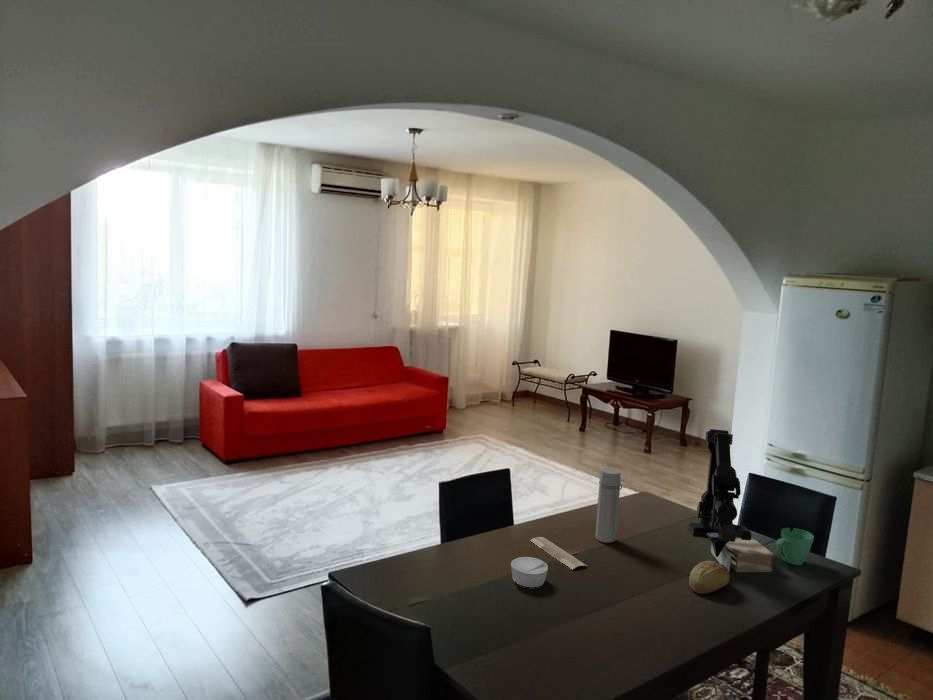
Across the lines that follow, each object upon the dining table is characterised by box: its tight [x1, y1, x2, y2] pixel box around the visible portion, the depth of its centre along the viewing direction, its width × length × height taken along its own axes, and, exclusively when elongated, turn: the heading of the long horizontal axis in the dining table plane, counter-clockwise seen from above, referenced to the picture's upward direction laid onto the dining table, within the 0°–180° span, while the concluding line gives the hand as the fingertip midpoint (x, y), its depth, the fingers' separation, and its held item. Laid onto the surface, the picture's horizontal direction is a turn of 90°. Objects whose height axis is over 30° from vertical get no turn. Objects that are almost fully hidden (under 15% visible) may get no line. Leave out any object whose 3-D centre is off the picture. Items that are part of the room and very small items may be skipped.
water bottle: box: [595, 467, 623, 544], centre depth 230 cm, size 9×8×25 cm
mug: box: [775, 527, 815, 566], centre depth 220 cm, size 15×10×10 cm
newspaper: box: [529, 536, 588, 571], centre depth 219 cm, size 24×7×2 cm, turn 29°
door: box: [709, 541, 731, 572], centre depth 219 cm, size 15×1×6 cm, turn 179°
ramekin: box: [510, 556, 549, 588], centre depth 199 cm, size 11×11×5 cm
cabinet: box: [724, 536, 774, 573], centre depth 220 cm, size 15×12×6 cm
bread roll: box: [688, 560, 731, 595], centre depth 200 cm, size 10×15×8 cm, turn 129°
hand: (716, 556), depth 216 cm, fingers closed
